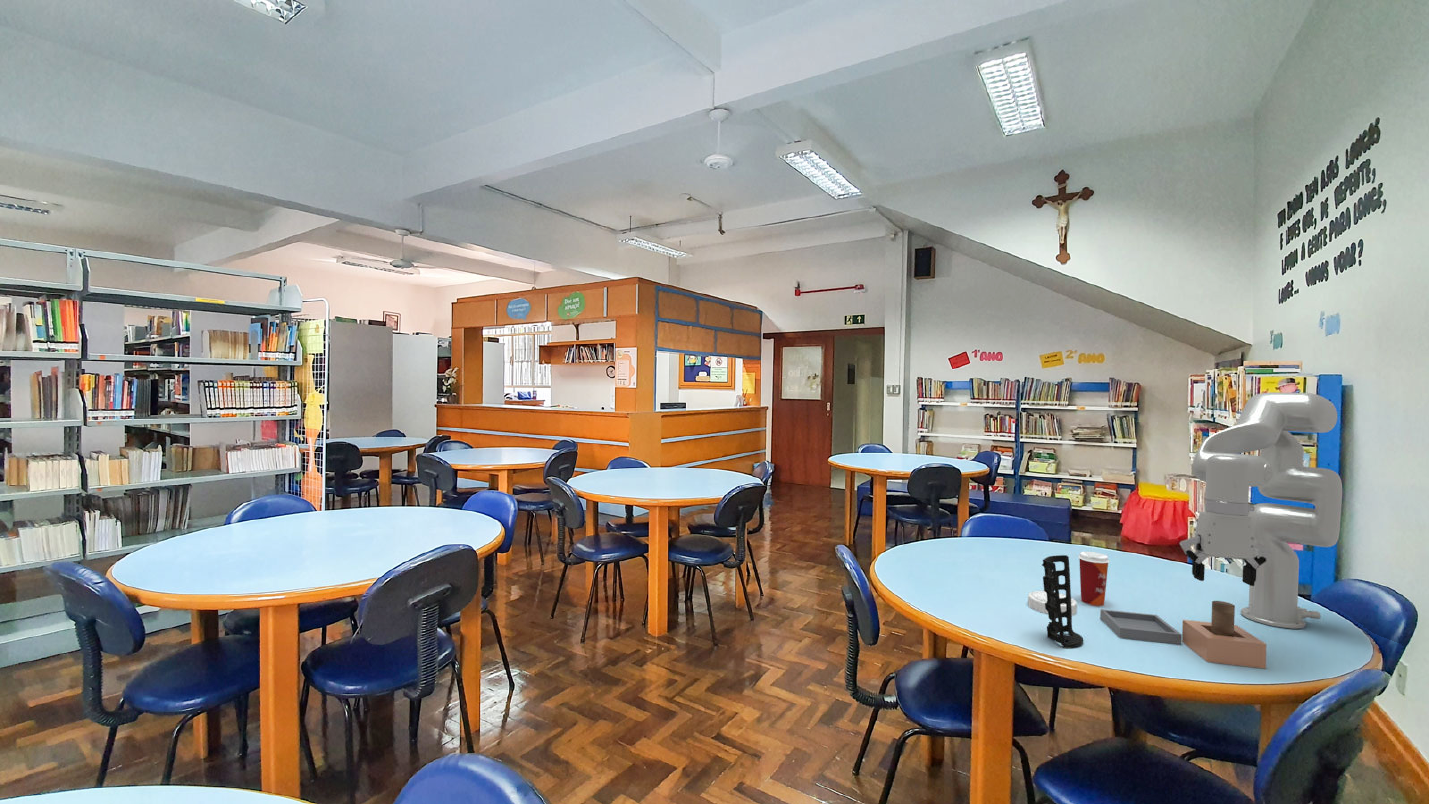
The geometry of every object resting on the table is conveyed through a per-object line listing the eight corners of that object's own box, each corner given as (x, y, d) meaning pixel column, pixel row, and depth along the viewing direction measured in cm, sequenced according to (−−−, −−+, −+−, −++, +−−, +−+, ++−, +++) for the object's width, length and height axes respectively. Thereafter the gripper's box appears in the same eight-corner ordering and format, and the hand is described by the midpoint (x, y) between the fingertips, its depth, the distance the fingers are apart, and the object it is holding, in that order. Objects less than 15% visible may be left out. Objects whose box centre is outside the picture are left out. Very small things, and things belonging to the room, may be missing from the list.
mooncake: (1081, 620, 156) (1082, 606, 156) (1031, 613, 160) (1031, 600, 160) (1071, 604, 167) (1071, 592, 167) (1024, 599, 171) (1025, 587, 171)
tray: (1156, 624, 153) (1156, 615, 153) (1181, 644, 140) (1181, 634, 140) (1100, 618, 156) (1100, 609, 156) (1119, 637, 144) (1120, 627, 144)
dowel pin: (1227, 652, 137) (1228, 601, 136) (1237, 659, 133) (1238, 607, 133) (1206, 650, 138) (1208, 600, 138) (1216, 657, 134) (1218, 605, 134)
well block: (1235, 647, 139) (1236, 625, 139) (1265, 668, 128) (1266, 644, 128) (1182, 641, 142) (1182, 619, 142) (1206, 661, 131) (1207, 637, 131)
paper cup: (1107, 609, 163) (1108, 560, 163) (1075, 603, 168) (1076, 555, 168) (1109, 601, 169) (1110, 554, 169) (1078, 595, 174) (1079, 549, 174)
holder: (1083, 651, 135) (1076, 565, 136) (1046, 646, 139) (1039, 562, 140) (1083, 635, 144) (1076, 554, 145) (1048, 631, 148) (1041, 553, 149)
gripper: (1260, 508, 136) (1257, 581, 136) (1174, 502, 141) (1171, 573, 141) (1282, 514, 129) (1279, 591, 129) (1190, 508, 133) (1187, 582, 133)
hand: (1223, 581), depth 135 cm, fingers open, 9 cm apart
